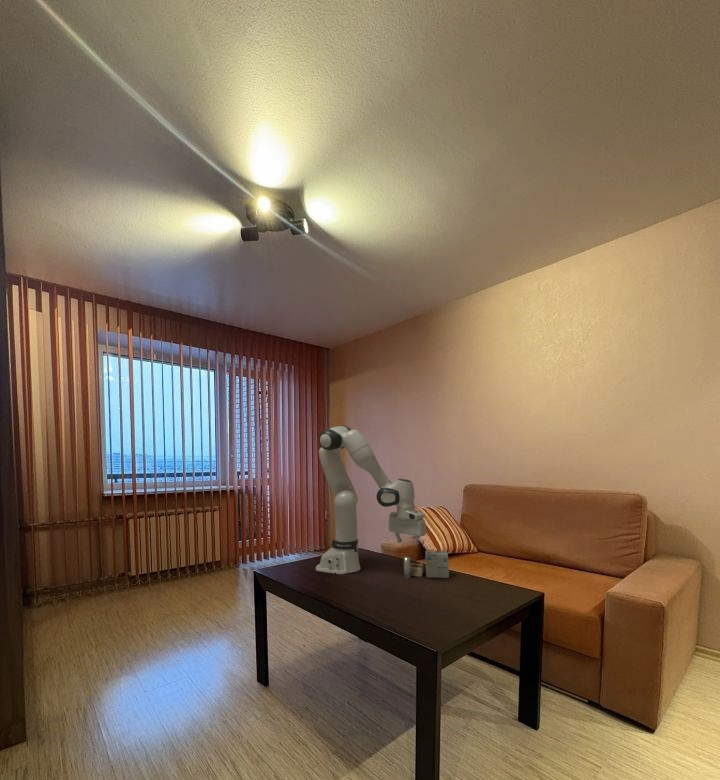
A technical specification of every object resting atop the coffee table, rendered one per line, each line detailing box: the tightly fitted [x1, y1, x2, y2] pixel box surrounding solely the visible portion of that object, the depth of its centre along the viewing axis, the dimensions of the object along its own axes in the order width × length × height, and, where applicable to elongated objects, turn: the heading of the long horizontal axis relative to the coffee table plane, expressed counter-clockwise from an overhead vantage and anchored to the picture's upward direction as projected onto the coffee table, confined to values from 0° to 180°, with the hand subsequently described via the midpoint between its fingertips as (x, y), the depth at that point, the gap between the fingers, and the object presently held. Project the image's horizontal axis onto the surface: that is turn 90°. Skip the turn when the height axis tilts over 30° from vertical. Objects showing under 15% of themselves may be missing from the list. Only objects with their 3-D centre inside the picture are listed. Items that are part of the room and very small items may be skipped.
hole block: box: [410, 562, 424, 577], centre depth 195 cm, size 8×8×4 cm
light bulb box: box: [424, 550, 450, 579], centre depth 192 cm, size 11×7×11 cm, turn 84°
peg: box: [403, 556, 412, 579], centre depth 189 cm, size 3×3×9 cm
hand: (407, 543), depth 191 cm, fingers open, 8 cm apart
